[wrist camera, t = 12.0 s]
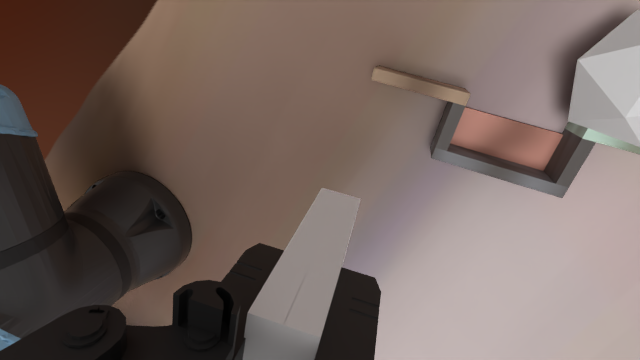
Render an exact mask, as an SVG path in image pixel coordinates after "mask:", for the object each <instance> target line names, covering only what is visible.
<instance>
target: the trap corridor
mask: <svg viewBox="0 0 640 360" xmlns="http://www.w3.org/2000/svg"><path fill="white" fill-rule="evenodd" d="M371 80H374V81H377V82H381V83H384V84H388V85H392V86H395V87H399V88H402V89H406V90H410V91H413V92H417V93H420V94H424V95H428V96H431V97H435V98H438V99H442V100H446V101H448V103H447V106H446V108H445V111H444V114H443V116H442V119H441V121H440V124H439V126H438V129H437V132H436V134H435V137H434V139H433V142H432V144H431V147H430V150H431V158H432V159H436V160H439V161H442V162H445V163H449V164H452V165H455V166H459V167H462V168H465V169H468V170H472V171H475V172H478V173H481V174H485V175H488V176H491V177H495V178H498V179H501V180H504V181H508V182H511V183H514V184H517V185H521V186H524V187H527V188H531V189H534V190H537V191H540V192H544V193H547V194H550V195H554V196H557V197H560V198H563V196H564V195H565V193H566V191H567V190H568V188H569V186H570V185H571V183H572V181H573V180H574V178H575V176H576V175H577V173H578V171H579V170H580V168H581V166H582V165H583V163H584V161H585V160H586V158H587V156H588V155H589V153H590V151H591V150H592V148H593V146H594V145H595V143H596V142H597V143H601V144H604V145H608V146H611V147H615V148H619V149H622V150H626V151H629V152H633V153H637V154H640V147H638V146H635V145H633V144H630V143H627V142H624V141H622V140H619V139H616V138H613V137H611V136H608V135H605V134H602V133H599V132H597V131H594V130H591V129H589V128H586V127H583V126H580V125H577V124H575V123H572V122H568V124H567V126H566V128H565V130H564V131H563V133H562V134H560V133H557V132H553V131H550V130H546V129H542V128H539V127H535V126H532V125H528V124H525V123H521V122H517V121H514V120H510V119H507V118H503V117H499V116H496V115H492V114H489V113H485V112H481V111H478V110H474V109H471V108H467V107H465V106H466V104H467V101H468V99H469V96H470V93H469V92H468V91H467V90H466V89H464V88H460V87H457V86H453V85H449V84H445V83H442V82H438V81H434V80H431V79H427V78H423V77H420V76H416V75H412V74H408V73H405V72H401V71H397V70H394V69H390V68H386V67H382V66H377V67H375V68H374V71H373V75H372V78H371Z"/></svg>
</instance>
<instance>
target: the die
mask: <svg viewBox="0 0 640 360" xmlns="http://www.w3.org/2000/svg"><path fill="white" fill-rule="evenodd" d="M568 121H569V122H572V123H575V124H577V125H580V126H583V127H586V128H589V129H591V130H594V131H597V132H599V133H602V134H605V135H608V136H611V137H613V138H616V139H619V140H622V141H624V142H627V143H630V144H633V145H635V146H638V147H640V9H638V10H636V11H635V12H634V13H633V14H632V15H630V16H629V17H628V18H627V19H626V20H624V21H623V22H622V23H621V24H620V25H618V26H617V27H616V28H615V29H614V30H612V31H611V32H610V33H609V34H608V35H606V36H605V37H604V38H603V39H602V40H601V41H599V42H598V43H597V44H596V45H595V46H593V47H592V48H591V49H590V50H589V51H587V52H586V53H585V54H584V55H583V56H581V57H580V58H579V59H578V60H577V64H576V71H575V77H574V83H573V90H572V96H571V103H570V109H569V116H568Z"/></svg>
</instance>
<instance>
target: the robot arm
mask: <svg viewBox="0 0 640 360" xmlns="http://www.w3.org/2000/svg"><path fill="white" fill-rule="evenodd" d="M36 137H38V134H37V132H36V131H34V130H33V129H32V127H31V125H30V123H29V121H28V118H27V116H26V114H25V112H24V109H23V107H22V105H21V103H20V101H19V99H18V97H17V96H16V95H15V94H14V93H13V92H12V91H11V90H10V89H8V88H7V87H4V86H3V85H0V360H374V355H375V345H376V335H377V325H378V316H379V306H380V296H381V291H380V289H379V286H378V284H377V281H376V279H375V278H374V277H371V276H368V275H364V274H361V273H358V272H355V271H352V270H348V269H345V268H342V266H343V263H344V259H345V256H346V252H347V248H348V245H349V241H350V237H351V234H352V230H353V227H354V223H355V219H356V216H357V212H358V208H359V205H360V201H361V199H360V198H357V197H353V196H350V195H346V194H343V193H339V192H336V191H332V190H328V189H325V188H321V190H320V192H319V193H318V195H317V197H316V198H315V200H314V202H313V203H312V205H311V207H310V208H309V210H308V212H307V213H306V215H305V217H304V218H303V220H302V222H301V224H300V225H299V227H298V229H297V230H296V232H295V234H294V235H293V237H292V239H291V240H290V242H289V244H288V245H287V247H286V249H285V250H284V251H283V250H280V249H277V248H274V247H271V246H267V245H264V244H261V243H259V244H257V245H255V246H253V247H251V248H249V249H247V250H246V251H245V252H244V253H243V255H242V256H241V257H240V258H239V260H238V261H237V263H236V264H235V265H234V266H233V267H232V269H231V270H230V272H229V273H228V274H227V275H226V276H225V278H224V279H223V280H222V281H221V282H217V281H212V280H205V281H195V282H193V283H190V284H187V285H184V286H183V287H181V288H180V289H179V290H177V291H176V292H175V293H173V323H172V325H169V326H159V327H151V326H130V325H126V317H125V316H124V315H123V314H122V312H121V311H120V310H119V309H116V308H114V307H111V305H113V304H114V303H115V302H116V301H117V300H119V299H120V298H121V297H122V296H123V295H124V294H126V293H127V292H128V291H130V290H132V289H135V288H137V287H139V286H141V285H143V284H145V283H148V282H150V281H152V280H156V279H159V278H162V277H164V276H166V275H168V274H169V273H171V272H172V271H173V270H174V269H175V268H177V267H178V266H179V265H180V264H181V263H182V262H183V261H184V260H185V258H186V257H187V255H188V253H189V250H190V247H191V230H190V225H189V222H188V219H187V216H186V214H185V212H184V210H183V208H182V207H181V205H180V204H179V202H178V201H177V199H176V198H175V197H174V196H173V195H172V194H171V193H170V191H169V190H167V189H166V188H165V187H164V186H163V185H162V184H160V183H159V182H157V181H156V180H154V179H152V178H150V177H148V176H146V175H144V174H141V173H137V172H131V171H123V172H117V173H114V174H112V175H110V176H107V177H105V178H102V179H100V180H98V181H97V182H95V183H94V184H93V185H92V186H91V187H90V188H89V189H88V190H87V191H86V193H85V194H84V195H83V196H81V197H80V198H79V199H78V200H76V201H75V202H74V203H73V204H72V205H71V206H70V207H69V208H68V209H67V210H66V211H65V212H64V211H63V209H62V206H61V204H60V201H59V199H58V196H57V193H56V191H55V188H54V185H53V183H52V180H51V177H50V175H49V172H48V169H47V167H46V164H45V161H44V159H43V156H42V153H41V150H40V148H39V145H38V143H37V140H36Z"/></svg>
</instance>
